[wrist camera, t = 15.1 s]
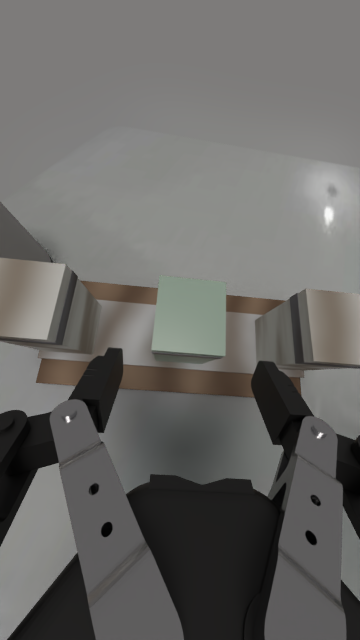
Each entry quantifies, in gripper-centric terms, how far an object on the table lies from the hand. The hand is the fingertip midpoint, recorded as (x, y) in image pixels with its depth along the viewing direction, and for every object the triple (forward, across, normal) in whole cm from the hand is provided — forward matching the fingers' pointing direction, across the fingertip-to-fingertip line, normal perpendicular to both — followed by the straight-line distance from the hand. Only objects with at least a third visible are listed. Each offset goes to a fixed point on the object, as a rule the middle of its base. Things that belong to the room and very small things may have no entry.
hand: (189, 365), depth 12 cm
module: (+10, 0, +5) cm, 11 cm away
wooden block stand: (+11, 0, +6) cm, 13 cm away
